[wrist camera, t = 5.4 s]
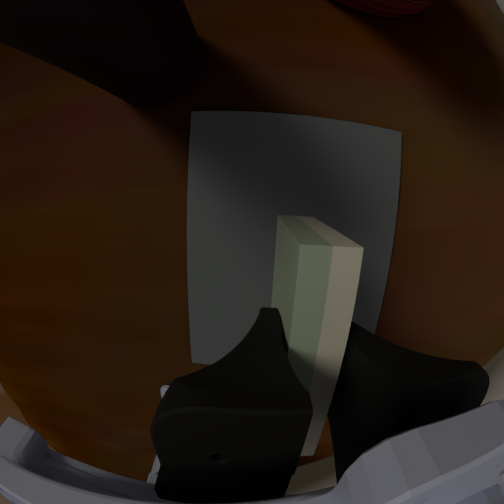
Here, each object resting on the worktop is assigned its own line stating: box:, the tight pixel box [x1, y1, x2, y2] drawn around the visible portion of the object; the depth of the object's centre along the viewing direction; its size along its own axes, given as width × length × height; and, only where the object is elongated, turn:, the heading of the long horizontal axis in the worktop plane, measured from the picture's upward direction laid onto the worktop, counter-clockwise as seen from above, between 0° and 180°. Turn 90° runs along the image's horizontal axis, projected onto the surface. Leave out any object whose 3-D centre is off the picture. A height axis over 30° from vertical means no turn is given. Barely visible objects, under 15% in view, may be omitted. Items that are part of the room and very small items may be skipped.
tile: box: [271, 215, 364, 456], centre depth 10 cm, size 2×8×6 cm, turn 177°
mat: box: [187, 111, 402, 364], centre depth 18 cm, size 18×14×1 cm
